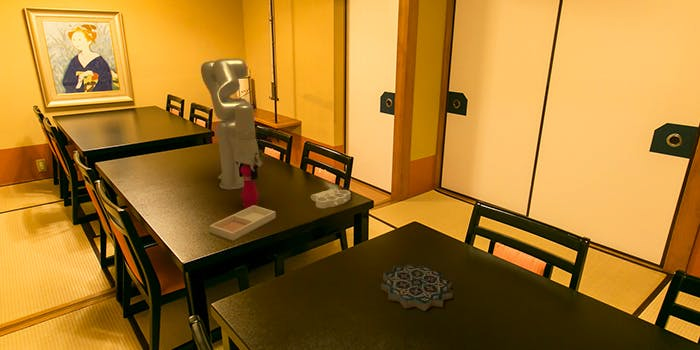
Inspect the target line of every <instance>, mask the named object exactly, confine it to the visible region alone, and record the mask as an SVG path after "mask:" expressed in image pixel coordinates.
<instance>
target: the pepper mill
mask: <svg viewBox="0 0 700 350" xmlns="http://www.w3.org/2000/svg"><path fill="white" fill-rule="evenodd" d="M253 166H255V165H254V164H253ZM251 171H252V169H251V166H250V165H248V164H244V165H242V167H241V173H242V174H243V176H242V177H243V180H244V187H243V188H242V191H241V194H240V198H241V200H242V206H243V208H245V209H246V208H249V207H251V206H253V205H255V206H259V200H258V199H259V196H260V195H259V190H258V189H257V187H256V185H255V180H251Z"/></svg>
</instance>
